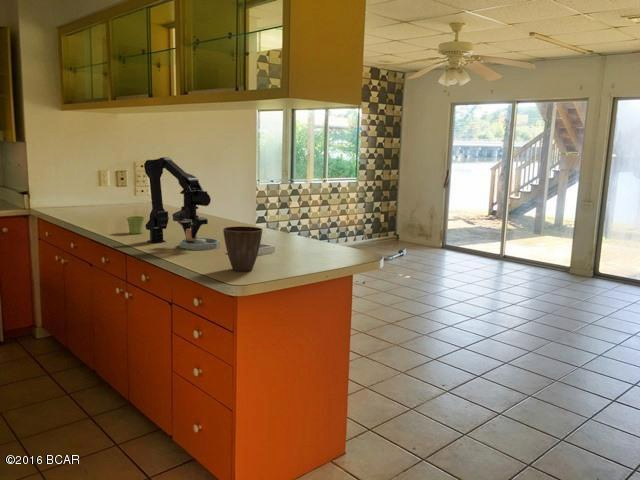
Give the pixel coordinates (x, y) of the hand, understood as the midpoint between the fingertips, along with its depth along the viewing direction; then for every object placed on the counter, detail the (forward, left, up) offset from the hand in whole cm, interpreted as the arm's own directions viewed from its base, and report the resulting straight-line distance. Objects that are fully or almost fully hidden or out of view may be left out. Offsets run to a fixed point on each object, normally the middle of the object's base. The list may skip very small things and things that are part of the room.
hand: (190, 237), depth 248 cm
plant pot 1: (-52, +4, -5) cm, 52 cm away
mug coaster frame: (+27, +13, -5) cm, 31 cm away
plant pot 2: (+50, -14, -5) cm, 52 cm away
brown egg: (0, 0, -1) cm, 1 cm away
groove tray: (0, +5, -5) cm, 7 cm away
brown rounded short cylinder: (-5, +5, -4) cm, 8 cm away
